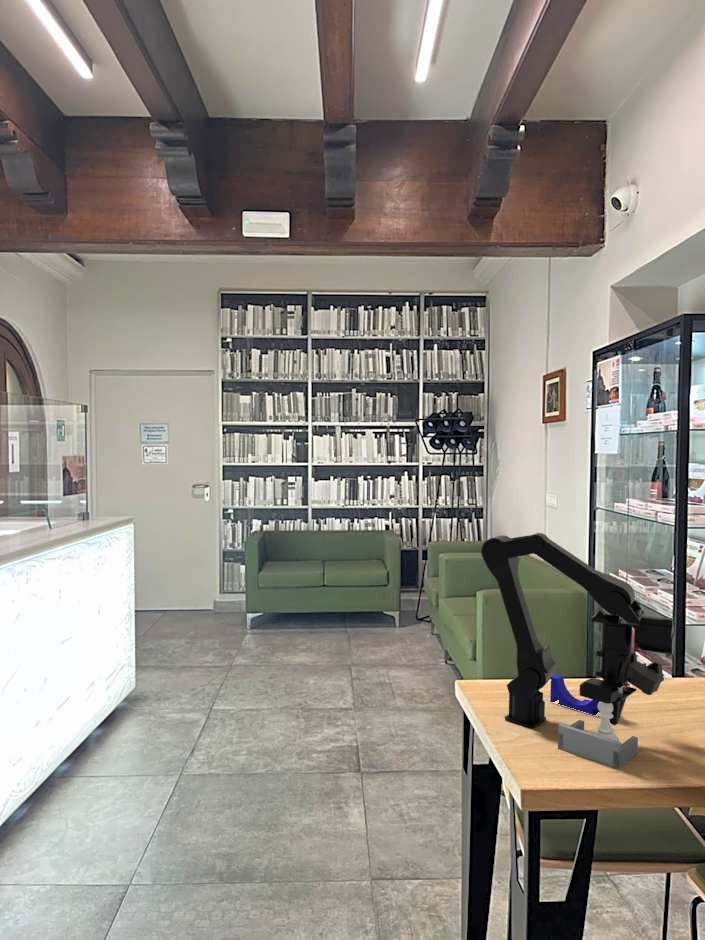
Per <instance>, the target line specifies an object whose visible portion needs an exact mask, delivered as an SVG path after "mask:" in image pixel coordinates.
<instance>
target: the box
mask: <svg viewBox="0 0 705 940" xmlns="http://www.w3.org/2000/svg"><path fill="white" fill-rule="evenodd" d="M557 734H558V737H557V749H559V748H560V749H559V750H561V751H565V752H567V751H568V753H570V752H571V754H574V755H577V756H580V757H582V758H585V759H589V760H591V761H594V762H597V763H600V764H603V765H605V766H607V767H611V768H614V769H617V770H619V769H620V768H622V766H624V765H625V764H626V763H627V762H628V761H630V760H632V758H634V756H636V755H637V754H638V751H639V750H638V749H639V747H638V746H639V745H638V744H639V737H637V736H635V735H632V736H631V737H629V738H628V739H627V740H625V741H624V742H623V743H622V742H621V741H619V742H617V741H614V740H611V739H608V738H605V737H602V736H599V735H595V734H594V733H593V732H589V731H585V721H584V720H582V719H578V720H577V721H575V722H573V723H572V724H570V725H567V724H564V723H560V724H558V733H557Z"/></svg>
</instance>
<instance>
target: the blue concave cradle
mask: <svg viewBox="0 0 705 940" xmlns="http://www.w3.org/2000/svg"><path fill="white" fill-rule="evenodd" d="M564 677H565V676H564V675H561V674H554V675H552V677H551V679H550V696H549V697H550V698H549V703H550V702H555V701H557V700H559V703H558V704H560V705H564V706H567V707H570V708H574V709H576V710H580V711H583V712H586V713H589V714H592V715H591V716H593V715H596V714H597V713H598V712H600V711H599V710H598V703H599V701H597V700H593V699H587V698H586V699H583V700H580V699H578V698H576V697H575V696H574V695H572V693H570V691H569V690H568V688H567V686H566V684H565V683H566V682H565V679H564ZM576 710H575V711H576ZM583 712H582V713H583ZM586 713H585V714H586ZM589 714H588V715H589ZM597 718H599V716H598V717H597Z"/></svg>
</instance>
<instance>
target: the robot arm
mask: <svg viewBox="0 0 705 940" xmlns="http://www.w3.org/2000/svg"><path fill="white" fill-rule="evenodd" d="M480 553H481V558H482V559H483V561H484V563H485V566H486V567H487V570H488V571H489V573H491V575H492V577H493V578H494V579H495V580H496V582H497V586H498V588H499V591H500V595H501V598H502V602H503V604H504V609H505V610H506V611H505V612H506V615H507V618H508V621H509V626H510V628H511V631H512V635H513V638H514V642H515V644H516V671H517V675H516V676H514V677H513V678H512V679H511V680H510V681H509V682H508V683H507V684H506V687H507V690H508V695H509V696H508V714H507V715H505V716H504V720H505V721H509V722H511V723H514V724H518V725H521V726H524V727H527V728H528V729H529V728H530V729H533V728H534V727H536V726H538V725H540V724H541V723H543V722H545V721H546V720H547V717H546V716H545V709H546V706H545V705H546V702H545V700H544V693H543V692H542V691H540V690H541V689H542V688H544V686H546V685H547V683H548V682H549V681H551V677H553V676H554V672H555V669H554V668H555V666H556V662H555V660H554V659H553V657H552V650H551V647H550V646H549V645H548V646H545V647H543V645H542V644H541V642H539V640H538V637H537V634H536V630H535V628H534V624H533V621H532V618H531V615H530V611H529V608H528V605H527V601H526V599H525V594H524V592H523V589H522V585H521V582H520V577H519V573H518V572H519V571H518V570H519V559H518V558H519V557H522V556H526V555H527V556H528V555H532V554H533V555H536V556H537V557H539V558H540V559H542V560H543V561H545V562H546V563H547V564H548V565H550V566H552V567H553V568H555V569H556V570H558V571H559V572H560V573H562V574H563V575H565V576H566V577H568V578H570V579H571V580H572V581H573V582H575V583H577V584H578V585H580V586H581V587H582V588H583V589H584V590H586V591H587V593H588V595H590V597H591V599H592V600H593V601H595V603H597V604H598V605H599V606H600V609H599V610H598V612H597V613H596V614H594V615H592V617H591V618H590V621H591V622H593V623H600V625H601V629H600V649H597V650H596V656H597V657H600V663H599V664H600V666H599V669H598V670H597V669H596V671H595V676H596V677H598V678H595V677H590V678H588V679H587V680H585V681H583V682H582V683H580V684H579V696H580V697H583V698H586V699H589V700H597V701H600V702H604V703H612V705H613V711H612V713H611V714H612V715H613V718H611V719H610V725H611V726H612V725H613V726H617V725H618V724H619V721H620V717H621V715H622V713H623V709H624V706H625V703H626V701H627V698H628V697H630V696H631V695H632V694H634V693H635V692H636V691H637V690H640V691H641V692H642V693H643V694H644V695H647V696H651V695H653V694H654V693H655V692H658V690H659V687H660V686H661V683H662V682H664V681H665V678H664V676H665V674H664V671H663V665H662V664H661V663H660V662H657V661H656V660H654V661H653V662H651V663H650V664H648V665H647V663H646V662H644V663H642V662H640V661H638V654H636V653H637V652H636V651H633V628H634V644H635V645H637V647H638V648H640V651H645V652H651V653H656V654H662V655H663V654H664V655H670V656H673V655H674V653H675V644H676V643H675V642H676V641H675V640H676V633H675V630H674V629H675V627H674V619H673V617H667V616H666V617H664V616H663V617H659V616H652V615H651V616H650V615H646V613H645V611H644V609H643V608H642V607H641V606H640V604H639V603H638V601H637V600H636V594H635V590H634V588H633V586H631V584H630V583H628V582H626V581H624V580H622V579H619V578H617V577H615V576H612V575H610V574H607V573H604V572H601V571H599V570H598V569H595V568H594V567H592V566H590V565H589V564H587V563H586V562H585V561H583V560H582V559H580V558H578V557H577V556H575V555H574V554H572V553H571V552H570V551H568V550H566V549H565V548H564V547H562V546H560V545H559V544H558V543H557V542H555V541H553V540H552V539H551V538H549V537H548V536H547V534H544V533H543V532H536V533H533V534H529V535H524V536H523V535H521V536H516V537H512V538H511V537H510V536H508V535H503V534H502V535H497V536H495V537H491V538H488V539H487V540H485V541H484V542H483V544H482V546H481V548H480ZM599 678H602V679H599ZM630 684H631V685H632V686H633V687H631V685H630Z"/></svg>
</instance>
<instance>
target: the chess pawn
mask: <svg viewBox="0 0 705 940" xmlns="http://www.w3.org/2000/svg"><path fill="white" fill-rule="evenodd" d="M598 710H599V711H600V712H599V713H598V716H599V717H601V718H600V724H599V726H597V731H595V732H593V734H595V735H599V736H602V737H605V738H608V739H611V740H614V741H617V742H620V738H619V737H618V736H617V735H616V734H615V733H614V728H613V727H612V724H611V723H610V719H611V718H613V715H612V714H611V713H612V711H613V705H612V703H604V702H600V701H599V703H598ZM599 717H598V718H599Z"/></svg>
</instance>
